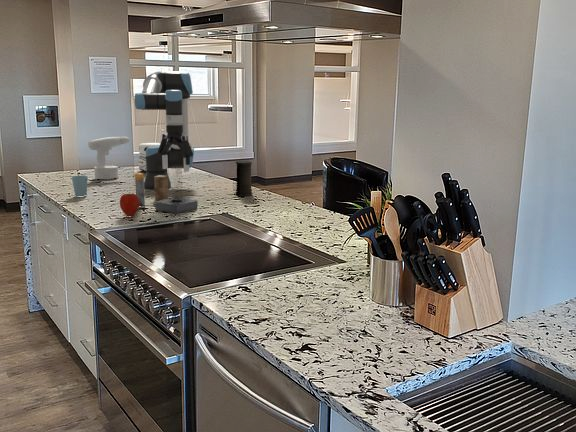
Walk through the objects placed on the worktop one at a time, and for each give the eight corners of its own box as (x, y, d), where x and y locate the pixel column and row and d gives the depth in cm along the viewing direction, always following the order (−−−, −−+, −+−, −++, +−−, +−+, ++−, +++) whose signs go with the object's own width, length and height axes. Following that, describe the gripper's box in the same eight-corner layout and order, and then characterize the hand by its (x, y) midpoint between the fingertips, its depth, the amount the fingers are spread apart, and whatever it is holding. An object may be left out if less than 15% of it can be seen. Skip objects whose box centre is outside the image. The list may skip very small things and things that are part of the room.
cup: (83, 198, 291) (82, 178, 288) (70, 197, 292) (68, 177, 290) (91, 195, 298) (90, 175, 295) (78, 194, 300) (77, 175, 297)
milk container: (134, 173, 368) (133, 145, 363) (145, 168, 384) (144, 142, 380) (159, 174, 365) (158, 146, 361) (169, 170, 381) (168, 143, 377)
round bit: (134, 206, 275) (133, 173, 271) (140, 205, 278) (139, 172, 275) (140, 207, 273) (138, 174, 269) (146, 206, 276) (145, 173, 273)
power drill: (132, 177, 351) (130, 136, 345) (92, 180, 338) (89, 138, 332) (128, 175, 358) (126, 135, 352) (88, 178, 345) (86, 137, 339)
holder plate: (155, 210, 269) (154, 201, 268) (176, 204, 280) (176, 196, 280) (176, 214, 262) (176, 205, 261) (197, 208, 273) (197, 200, 272)
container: (253, 193, 311) (253, 160, 307) (250, 196, 302) (250, 163, 298) (237, 192, 312) (237, 160, 308) (234, 196, 303) (234, 162, 299)
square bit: (155, 199, 291) (154, 176, 288) (160, 197, 296) (159, 175, 293) (163, 200, 289) (162, 177, 287) (168, 198, 294) (167, 175, 291)
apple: (134, 213, 261) (132, 190, 259) (143, 217, 256) (142, 193, 253) (116, 216, 256) (115, 192, 253) (126, 220, 250) (125, 195, 247)
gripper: (149, 123, 265) (150, 168, 270) (188, 126, 252) (190, 173, 257) (160, 122, 271) (162, 166, 276) (200, 125, 258) (201, 171, 263)
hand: (175, 170), depth 267 cm, fingers open, 13 cm apart
